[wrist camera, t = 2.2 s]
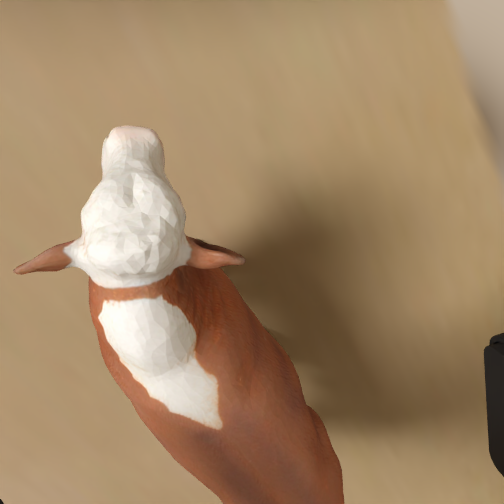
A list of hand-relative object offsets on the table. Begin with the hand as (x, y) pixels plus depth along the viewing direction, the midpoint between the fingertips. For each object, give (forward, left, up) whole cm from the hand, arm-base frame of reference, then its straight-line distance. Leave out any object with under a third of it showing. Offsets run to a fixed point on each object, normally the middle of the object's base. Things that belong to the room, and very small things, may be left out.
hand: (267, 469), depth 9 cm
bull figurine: (0, +1, -10) cm, 10 cm away
